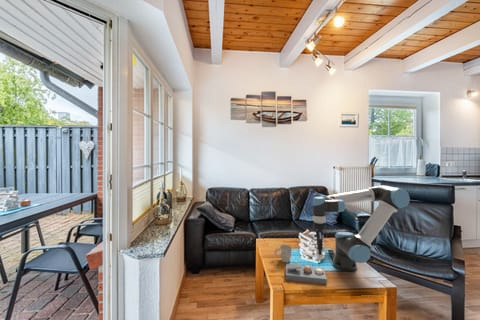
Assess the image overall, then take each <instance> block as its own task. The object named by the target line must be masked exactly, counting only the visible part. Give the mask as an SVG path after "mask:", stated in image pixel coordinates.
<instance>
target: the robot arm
mask: <svg viewBox="0 0 480 320" xmlns="http://www.w3.org/2000/svg"><path fill="white" fill-rule="evenodd" d="M410 198H411V197H410V194H409V192H408V191H407V190H405V188H404V189H403V188H401V187H396V186H391V185H386V184H385V185H383V184H381V185H377V186H371V187H369V186H368V187H366V189H361V190H356V191H349V192H342V193H337V194H336V193H335V194H330V195H325V194H322V195H320V196H314V197H313V198H312V204H311V205H312V216H311V218H312V221H313V222H312V227H313V229H314V230H315V233H316V234H315V236H316V257H317V260H323V245H324V244H323V241H324V240H323V239H324V236H323V235H324V231H323V230H326V228H327V227H326V222H327V221H326V217H327V216H326V213H341V212H344V211H346V205H349V204H355V203H356V204H357V203H362V202H363V203H364V202H367V201H368V202H371V203H372V202H378V206H377V207H376V208H375V209H374V211H373V212H372V214H371V215H370V217H369V218H368V219H367V221H366V222H365V224H364V225H363V226H362V228H361V229H360V231H358V233H357V234H354V233H353V232H348V231H338V232H337V231H336V232H335V236H334V237H335V238H334V239H335V241H334V242H335V243H334V244H335V245H334V246H335V250H334V251H335V252H334V256H333V259H332V266H333V267H334V268H336V269H338V270H342V271H345V272H353V271H356V270H357V269H358V266H357V264H363V263H366V262H368V261H369V260H370V258H371V249H372V243H373V241H374V240H375V239H376V237H377V236H378V234H379V233H380V232H381V230H382V229H383V227H384V226H385V225H386V223H388V222H387V221H388V220H389V219H390V217H391V216H392V214H393V213H397V212H398V211H399V210H400V209H403V208H406V207H407V206H408V205H409V204H410V200H411V199H410Z"/></svg>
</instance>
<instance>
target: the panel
mask: <svg viewBox="0 0 480 320" xmlns="http://www.w3.org/2000/svg"><path fill="white" fill-rule="evenodd" d="M288 264H289V263H288ZM288 264H287V263H286V265H285V280H287V281H296V282H304V283H313V284H314V283H315V284H322V285H323V284H324V285H327V283H328V280H327V275H326V273H325V268H324V267H319V266H311V273H305V272H304V266H305V265H301V269H292V270H289V269H288ZM317 268H319V269H322V270H323V275H318V274H316V269H317Z"/></svg>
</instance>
